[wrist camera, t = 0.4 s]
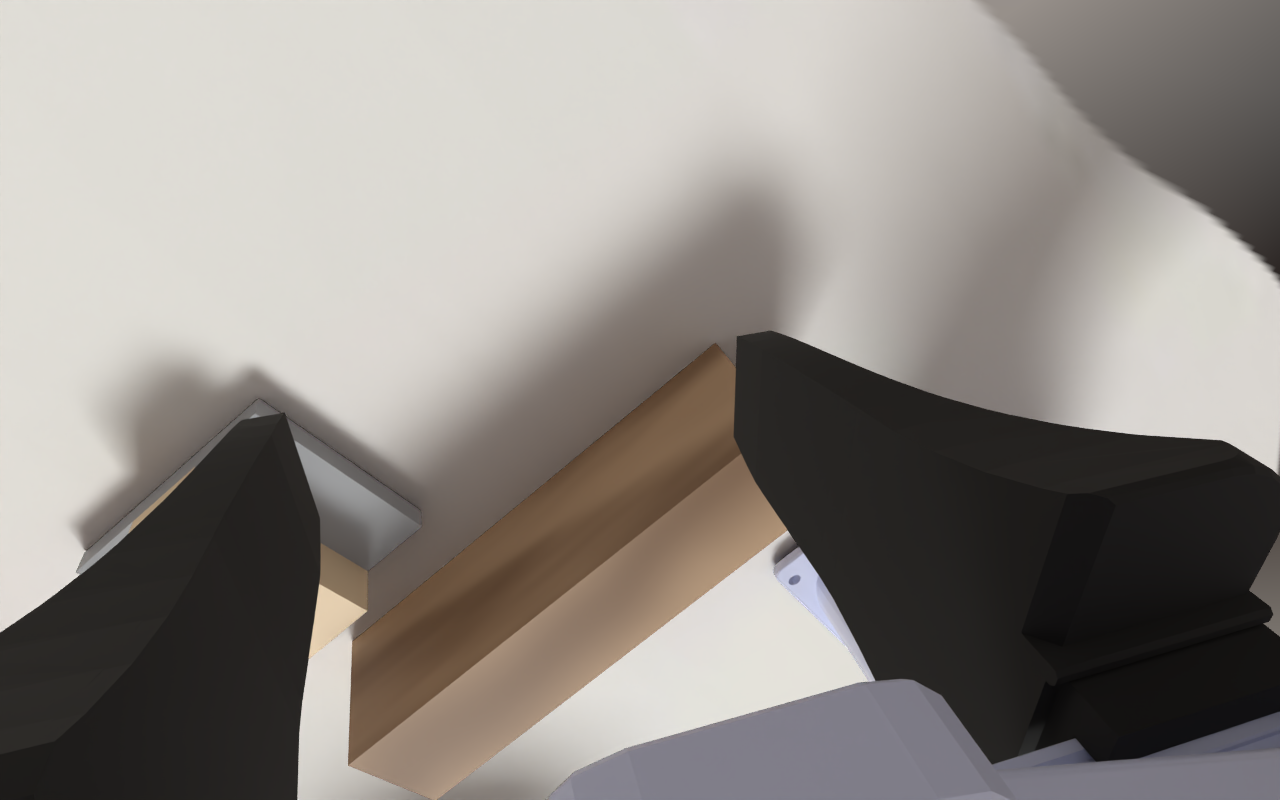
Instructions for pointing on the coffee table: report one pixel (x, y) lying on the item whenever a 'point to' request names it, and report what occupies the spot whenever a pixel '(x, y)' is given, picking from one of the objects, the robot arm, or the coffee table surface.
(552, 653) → the batten
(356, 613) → the fulcrum
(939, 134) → the coffee table surface
